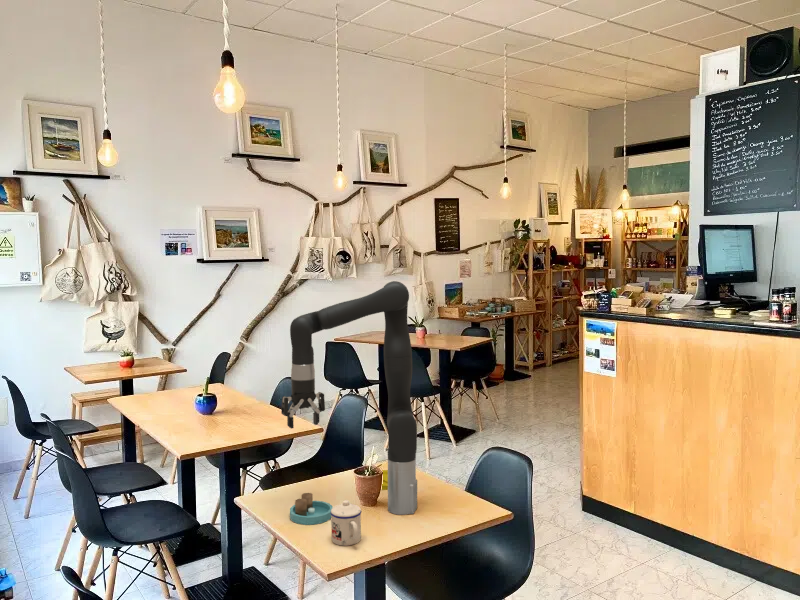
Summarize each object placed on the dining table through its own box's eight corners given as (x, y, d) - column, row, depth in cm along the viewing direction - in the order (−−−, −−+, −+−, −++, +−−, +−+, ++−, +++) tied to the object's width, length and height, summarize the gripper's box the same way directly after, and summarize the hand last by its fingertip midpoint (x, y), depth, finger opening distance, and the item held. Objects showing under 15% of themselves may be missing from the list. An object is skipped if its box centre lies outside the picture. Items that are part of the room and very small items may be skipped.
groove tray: (338, 509, 212) (338, 502, 212) (323, 526, 198) (323, 519, 198) (300, 506, 215) (299, 499, 215) (283, 522, 202) (282, 515, 202)
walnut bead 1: (304, 512, 207) (303, 497, 207) (308, 516, 204) (308, 501, 204) (293, 515, 205) (293, 500, 205) (298, 519, 202) (297, 503, 202)
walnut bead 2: (314, 508, 211) (314, 493, 211) (310, 512, 208) (310, 497, 207) (304, 507, 212) (303, 492, 212) (299, 511, 208) (299, 496, 208)
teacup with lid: (326, 536, 192) (325, 498, 191) (354, 530, 196) (353, 493, 195) (341, 553, 181) (341, 513, 180) (370, 546, 185) (370, 507, 184)
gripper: (286, 381, 202) (287, 432, 203) (328, 376, 209) (328, 425, 210) (278, 377, 208) (278, 426, 209) (318, 373, 215) (319, 420, 216)
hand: (303, 426), depth 210 cm, fingers open, 8 cm apart
